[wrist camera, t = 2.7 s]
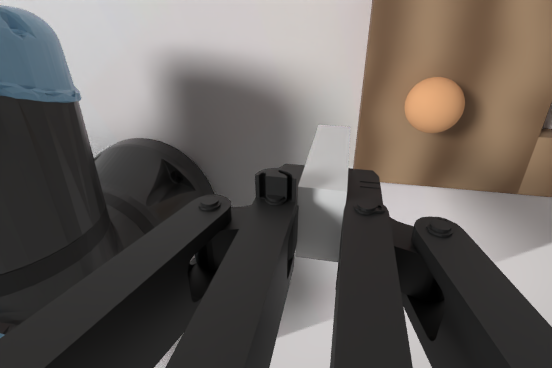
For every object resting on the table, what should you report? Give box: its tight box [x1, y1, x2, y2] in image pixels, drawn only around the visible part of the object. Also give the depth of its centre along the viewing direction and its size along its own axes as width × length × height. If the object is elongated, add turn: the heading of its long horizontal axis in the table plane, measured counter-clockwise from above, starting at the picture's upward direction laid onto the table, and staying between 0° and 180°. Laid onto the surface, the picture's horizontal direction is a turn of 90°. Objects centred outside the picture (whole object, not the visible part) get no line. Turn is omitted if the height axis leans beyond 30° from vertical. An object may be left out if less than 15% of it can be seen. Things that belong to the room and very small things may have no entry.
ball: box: [404, 77, 465, 133], centre depth 25 cm, size 4×4×4 cm
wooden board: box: [353, 0, 552, 197], centre depth 25 cm, size 22×15×5 cm
